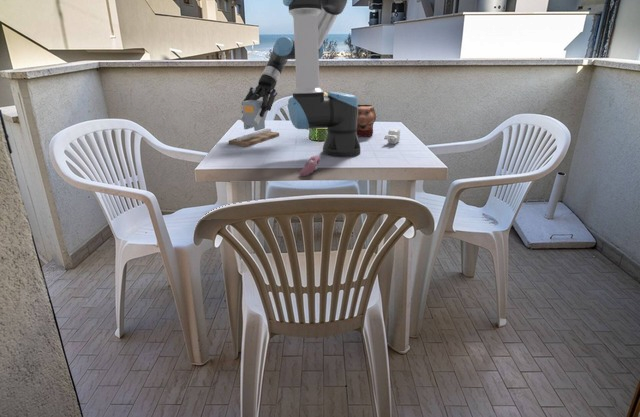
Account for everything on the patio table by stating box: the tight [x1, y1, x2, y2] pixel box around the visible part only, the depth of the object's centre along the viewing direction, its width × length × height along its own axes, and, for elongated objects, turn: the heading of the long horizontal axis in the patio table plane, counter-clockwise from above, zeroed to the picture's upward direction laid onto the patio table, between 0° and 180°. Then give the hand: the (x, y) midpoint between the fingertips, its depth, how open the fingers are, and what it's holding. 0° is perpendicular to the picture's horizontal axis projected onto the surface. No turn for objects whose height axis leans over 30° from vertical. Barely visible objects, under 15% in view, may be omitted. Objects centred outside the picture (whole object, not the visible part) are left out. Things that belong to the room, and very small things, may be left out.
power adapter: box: [384, 128, 401, 145], centre depth 179 cm, size 11×5×6 cm, turn 152°
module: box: [241, 99, 266, 132], centre depth 181 cm, size 6×7×12 cm
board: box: [228, 131, 280, 148], centre depth 185 cm, size 24×10×2 cm, turn 151°
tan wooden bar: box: [236, 128, 272, 142], centre depth 185 cm, size 22×2×2 cm, turn 151°
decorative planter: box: [357, 103, 377, 137], centre depth 195 cm, size 20×12×14 cm, turn 1°
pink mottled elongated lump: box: [299, 155, 322, 177], centre depth 140 cm, size 10×5×7 cm, turn 169°
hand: (249, 121), depth 179 cm, fingers closed on module, 7 cm apart
